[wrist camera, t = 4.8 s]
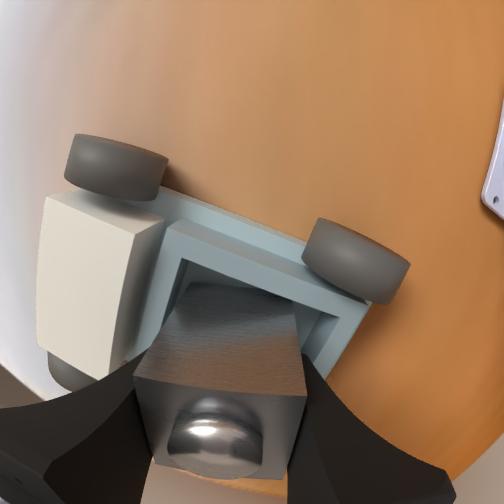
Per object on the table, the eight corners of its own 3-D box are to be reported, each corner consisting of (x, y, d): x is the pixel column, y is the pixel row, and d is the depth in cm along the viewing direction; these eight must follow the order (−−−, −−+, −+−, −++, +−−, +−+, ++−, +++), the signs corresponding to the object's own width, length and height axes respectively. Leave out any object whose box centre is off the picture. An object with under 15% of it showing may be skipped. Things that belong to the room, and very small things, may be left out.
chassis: (387, 246, 13) (430, 277, 9) (284, 418, 16) (287, 473, 12) (107, 137, 12) (52, 131, 8) (71, 333, 15) (33, 371, 11)
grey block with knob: (290, 290, 12) (310, 414, 5) (279, 369, 13) (282, 494, 6) (190, 282, 12) (122, 391, 5) (192, 361, 13) (150, 477, 7)
